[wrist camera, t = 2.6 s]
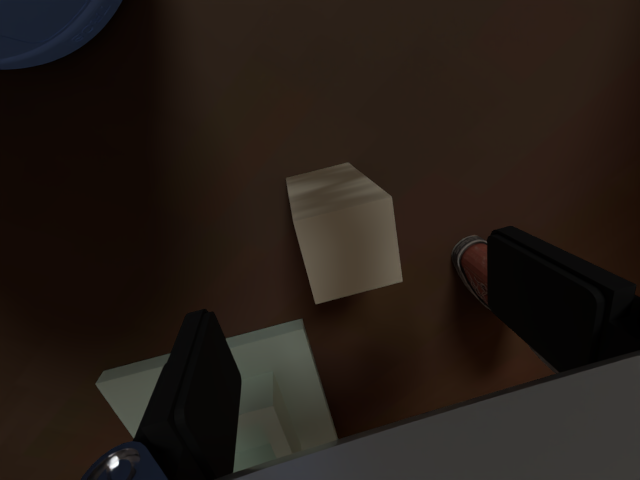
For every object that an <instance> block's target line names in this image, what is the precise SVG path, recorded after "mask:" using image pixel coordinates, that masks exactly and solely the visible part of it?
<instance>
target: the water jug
mask: <svg viewBox="0 0 640 480" xmlns="http://www.w3.org/2000/svg"><path fill="white" fill-rule="evenodd" d="M121 2H122V0H0V70H8V69H20V68H28V67H33V66H38V65H42V64H45V63H49V62H52V61H55V60H57V59H60V58H62V57H64V56H66V55H68V54H70V53H72V52H74V51H76V50H77V49H79V48H80V47H82V46H83V45H85V44H86V43H87V42H89V41H90V40H91V39H92V38H93V37H95V36H96V35H97V34H98V33H99V32H100V31H101V30H102V29H103V28H104V27H105V25H106V24H107V23H108V22H109V20H110V19H111V18H112V16H113V15H114V14H115V12H116V11H117V9H118V7H119V6H120V4H121Z"/></svg>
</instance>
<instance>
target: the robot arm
mask: <svg viewBox="0 0 640 480" xmlns="http://www.w3.org/2000/svg"><path fill="white" fill-rule="evenodd" d="M635 290H636V284H634V283H632V282H630V281H628V280H625V279H623V278H621V277H619V276H617V275H615V274H613V273H611V272H608V271H606V270H604V269H602V268H600V267H598V266H596V265H594V264H592V263H589V262H587V261H585V260H583V259H581V258H579V257H577V256H575V255H573V254H570V253H568V252H566V251H564V250H562V249H560V248H558V247H556V246H554V245H551V244H549V243H547V242H545V241H543V240H541V239H539V238H537V237H535V236H532V235H530V234H528V233H526V232H524V231H522V230H520V229H518V228H515V227H513V226H508V227H504V228H501V229H497V230H494V231H492V233H491V236H489V237H488V238H487V301H488V306H489V308H490V310H491V311H492V312H493V313H494V314H495V315H496V316H497V317H498V318H499V319H500V320H502V321H503V322H504V323H505V324H506V325H507V326H508V327H509V328H510V329H512V330H513V331H514V332H515V333H516V334H517V335H518V336H519V337H521V338H522V339H523V340H524V341H525V342H526V343H527V344H528V345H529V346H531V347H532V348H533V349H534V350H535V351H536V352H537V353H538V354H539V355H541V356H542V357H543V358H544V359H545V360H546V361H547V362H548V363H549V364H551V365H552V366H553V367H554V368H555V369H556V370H557V371H558V372H559V373H557V374H554V375H550V376H547V377H544V378H540V379H537V380H533V381H530V382H527V383H523V384H520V385H516V386H513V387H510V388H506V389H503V390H499V391H496V392H493V393H489V394H486V395H483V396H479V397H476V398H473V399H469V400H466V401H463V402H459V403H456V404H453V405H449V406H446V407H443V408H439V409H436V410H433V411H430V412H426V413H423V414H420V415H416V416H413V417H410V418H406V419H403V420H400V421H396V422H393V423H390V424H387V425H383V426H380V427H377V428H374V429H370V430H367V431H364V432H361V433H357V434H354V435H351V436H347V437H344V438H341V439H338V440H334V441H331V442H328V443H325V444H321V445H318V446H315V447H312V448H308V449H305V450H302V451H299V452H295V453H292V454H289V455H286V456H283V457H280V458H277V459H274V460H271V461H268V462H265V463H262V464H259V465H255V466H252V467H249V468H246V469H243V470H240V471H237V472H234V473H233V471H234V460H235V450H236V439H237V428H238V418H239V407H240V397H241V386H242V379H241V374H240V371H239V369H238V367H237V364H236V362H235V360H234V357H233V355H232V353H231V350H230V348H229V346H228V343H227V341H226V339H225V336H224V334H223V332H222V329H221V327H220V325H219V323H218V320H217V318H216V316H215V314H214V312H208V311H207V310H206V309H202V310H199V311H195V312H191V313H188V314H186V316H185V318H184V321H183V323H182V326H181V328H180V331H179V333H178V336H177V338H176V341H175V343H174V346H173V348H172V351H171V353H170V356H169V358H168V361H167V363H165V365H164V366H163V368H162V371H161V373H160V376H159V378H158V381H157V383H156V385H155V388H154V390H153V393H152V395H151V398H150V400H149V403H148V405H147V408H146V410H145V412H144V415H143V417H142V420H141V422H140V425H139V427H138V430H137V432H136V435H135V437H134V439H133V441H132V442H127V443H123V444H121V445H119V446H117V447H114V448H112V449H111V450H110V451H108V452H107V453H105V454H104V455H102V456H101V457H100V458H99V459H98V460H97V461H96V462H95V463H94V464H92V465H91V467H90V468H89V469H88V470H87V472H86V473H85V474H84V475H83V476H82V478H81V480H640V297H638V296H636V295H634V294H635Z"/></svg>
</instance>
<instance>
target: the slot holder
mask: <svg viewBox="0 0 640 480" xmlns="http://www.w3.org/2000/svg"><path fill="white" fill-rule="evenodd" d="M226 341H227V343H228V346H229V348H230V350H231V353H232V355H233V357H234V360H235V362H236V364H237V367H238V369H239V371H240V374H241V379H242V386H241V397H240V407H239V418H238V428H237V439H236V450H235V460H234V471H233V473H234V472H237V471H240V470H243V469H246V468H249V467H252V466H255V465H259V464H262V463H265V462H268V461H271V460H274V459H277V458H280V457H283V456H286V455H289V454H292V453H295V452H299V451H302V450H305V449H308V448H312V447H315V446H318V445H321V444H325V443H328V442H331V441H334V440H338V437H337V433H336V430H335V427H334V423H333V420H332V417H331V413H330V410H329V407H328V403H327V400H326V397H325V393H324V390H323V387H322V383H321V380H320V377H319V373H318V370H317V367H316V363H315V360H314V357H313V353H312V350H311V346H310V343H309V340H308V336H307V333H306V330H305V326H304V323H303V320H302V319H298V320H294V321H291V322H287V323H283V324H279V325H276V326H272V327H268V328H264V329H260V330H257V331H253V332H249V333H245V334H242V335H238V336H234V337H230V338H226ZM169 356H170V354H166V355H162V356H158V357H155V358H151V359H147V360H143V361H140V362H136V363H132V364H128V365H124V366H121V367H117V368H113V369H109V370H105V371H103V373H102V374H101V376H100V377H99V379H98V381H97V382H96V384H95V385H96V386H97V387H98V389H99V390H100V392H101V393H102V394H103V396H104V397H105V399H106V400H107V401H108V403H109V404H110V406H111V407H112V408H113V410H114V411H115V413H116V414H117V415H118V417H119V418H120V420H121V421H122V422H123V424H124V425H125V427H126V428H127V429H128V431H129V432H130V434H131V435H132V436H133V438H134V437H135V435H136V432H137V430H138V427H139V425H140V422H141V420H142V417H143V415H144V412H145V410H146V408H147V405H148V403H149V400H150V398H151V395H152V393H153V390H154V388H155V385H156V383H157V381H158V378H159V376H160V373H161V371H162V368H163V366H164V365H165V363H167V361H168V358H169Z"/></svg>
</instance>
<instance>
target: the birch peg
mask: <svg viewBox="0 0 640 480" xmlns="http://www.w3.org/2000/svg"><path fill="white" fill-rule="evenodd" d="M286 183H287V189H288V195H289V200H290V206H291V212H292V218H293V223H294V227H295V230H296V234H297V238H298V242H299V245H300V249H301V253H302V256H303V260H304V264H305V267H306V271H307V275H308V278H309V282H310V286H311V290H312V293H313V297H314V301H315V304H319V303H323V302H326V301H330V300H334V299H338V298H342V297H345V296H349V295H353V294H357V293H361V292H364V291H368V290H372V289H376V288H380V287H383V286H387V285H391V284H395V283H398V282H402V273H401V265H400V258H399V250H398V242H397V234H396V226H395V218H394V210H393V203H392V197H391V196H390V195H389V194H388V193H386V192H385V191H384V190H383V189H381V188H380V187H379V186H377V185H376V184H375V183H374V182H372V181H371V180H370V179H368V178H367V177H366V176H365V175H363V174H362V173H361V172H360V171H358V170H357V169H356V168H354V167H353V166H352V165H351V164H349V163H345V164H341V165H336V166H332V167H328V168H324V169H320V170H316V171H312V172H308V173H304V174H300V175H296V176H292V177H288V178H286Z"/></svg>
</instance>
